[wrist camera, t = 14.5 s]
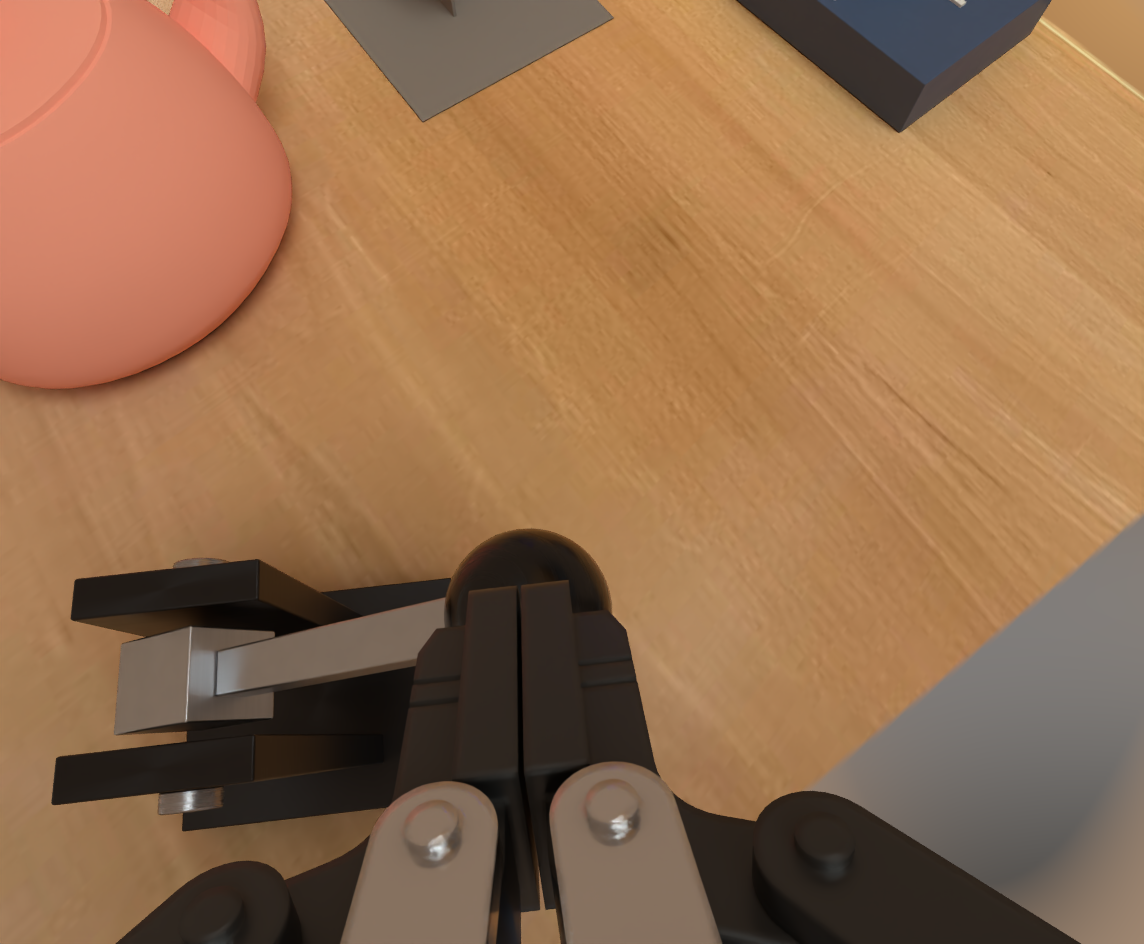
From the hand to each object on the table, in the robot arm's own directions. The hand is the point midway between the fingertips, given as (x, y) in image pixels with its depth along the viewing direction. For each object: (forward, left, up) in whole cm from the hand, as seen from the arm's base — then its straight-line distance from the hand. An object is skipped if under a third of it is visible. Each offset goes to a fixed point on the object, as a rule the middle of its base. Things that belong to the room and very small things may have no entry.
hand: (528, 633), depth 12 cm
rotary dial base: (+17, -35, -19) cm, 43 cm away
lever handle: (+3, +3, -7) cm, 8 cm away
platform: (+34, -19, -19) cm, 44 cm away
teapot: (+29, +2, -19) cm, 35 cm away
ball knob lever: (+5, +7, -19) cm, 21 cm away
